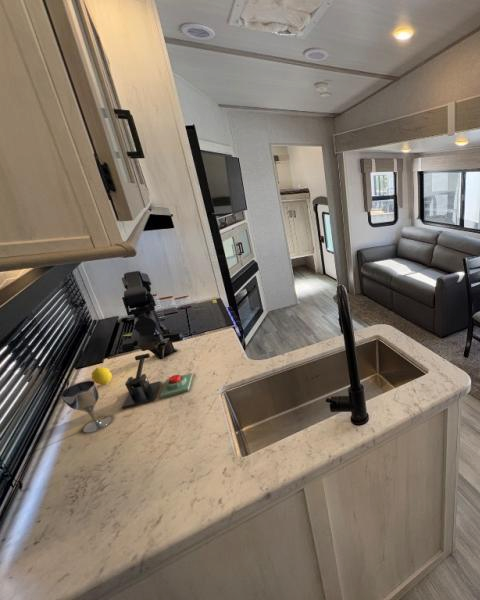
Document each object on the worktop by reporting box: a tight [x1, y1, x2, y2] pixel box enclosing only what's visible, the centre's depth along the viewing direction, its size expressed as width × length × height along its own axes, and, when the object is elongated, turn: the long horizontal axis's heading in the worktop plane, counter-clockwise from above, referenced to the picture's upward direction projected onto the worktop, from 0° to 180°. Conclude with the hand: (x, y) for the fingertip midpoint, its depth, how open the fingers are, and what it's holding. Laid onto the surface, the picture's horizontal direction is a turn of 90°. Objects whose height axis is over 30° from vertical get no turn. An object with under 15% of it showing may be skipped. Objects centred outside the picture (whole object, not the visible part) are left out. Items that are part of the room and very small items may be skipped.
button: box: [168, 374, 181, 384], centre depth 120 cm, size 4×4×2 cm
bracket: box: [121, 373, 161, 410], centre depth 116 cm, size 12×9×8 cm
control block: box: [159, 373, 194, 399], centre depth 121 cm, size 11×9×3 cm
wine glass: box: [60, 380, 112, 434], centre depth 101 cm, size 8×8×15 cm
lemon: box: [91, 366, 113, 385], centre depth 123 cm, size 6×6×8 cm
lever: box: [131, 352, 151, 388], centre depth 119 cm, size 15×4×2 cm, turn 25°
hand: (161, 358), depth 119 cm, fingers closed
